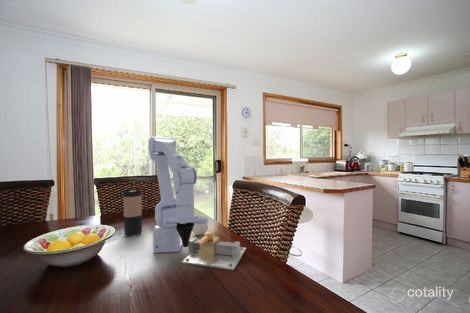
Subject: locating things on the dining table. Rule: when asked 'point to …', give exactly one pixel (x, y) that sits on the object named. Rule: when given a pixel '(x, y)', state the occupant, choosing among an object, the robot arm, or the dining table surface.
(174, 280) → the dining table surface
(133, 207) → the travel mug
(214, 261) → the mounting plate
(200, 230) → the baseball
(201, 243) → the lever
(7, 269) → the dining table surface
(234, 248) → the pipe valve
